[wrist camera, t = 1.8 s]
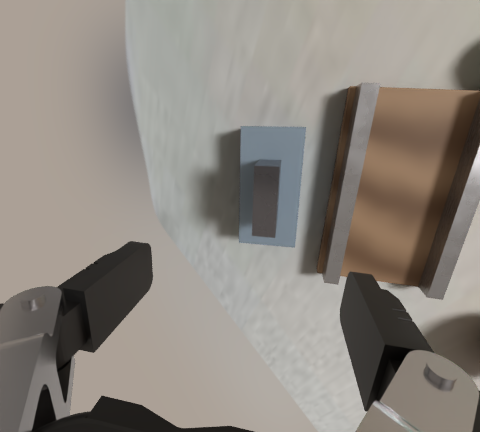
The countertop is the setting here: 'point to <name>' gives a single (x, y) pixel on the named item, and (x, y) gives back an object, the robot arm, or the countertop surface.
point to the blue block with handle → (270, 184)
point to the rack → (403, 186)
